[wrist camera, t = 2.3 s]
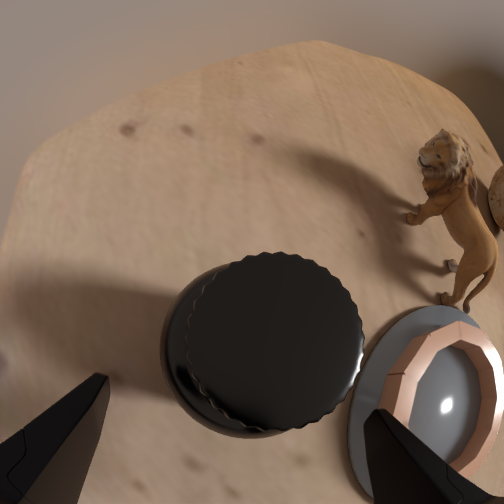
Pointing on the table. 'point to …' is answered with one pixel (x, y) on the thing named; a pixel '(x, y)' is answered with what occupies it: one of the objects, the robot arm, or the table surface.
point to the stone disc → (497, 197)
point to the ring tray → (432, 388)
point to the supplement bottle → (262, 345)
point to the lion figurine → (457, 212)
